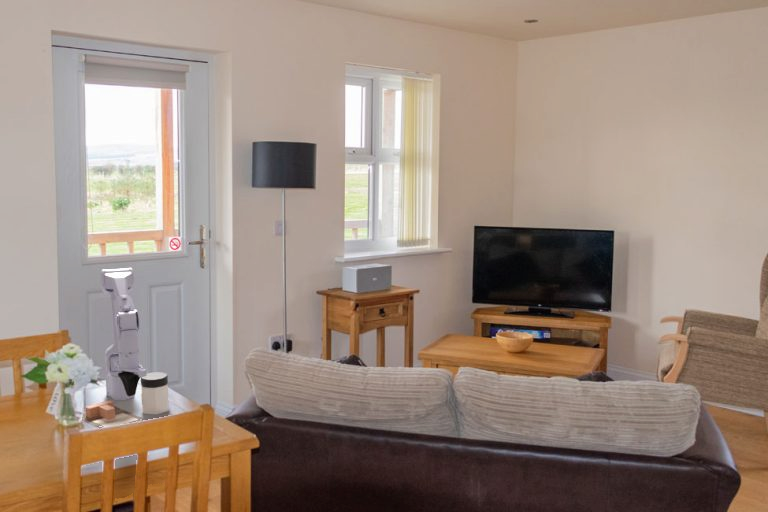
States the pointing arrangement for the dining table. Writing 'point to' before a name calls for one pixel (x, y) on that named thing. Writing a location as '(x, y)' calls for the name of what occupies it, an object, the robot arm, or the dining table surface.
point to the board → (120, 418)
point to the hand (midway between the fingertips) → (131, 395)
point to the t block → (101, 410)
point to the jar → (155, 393)
